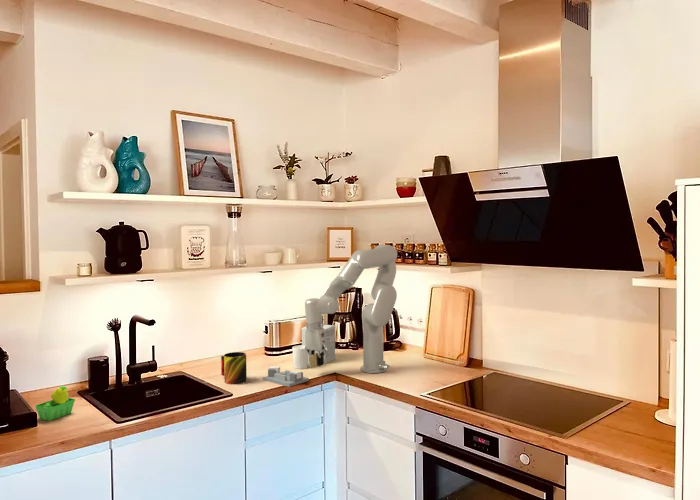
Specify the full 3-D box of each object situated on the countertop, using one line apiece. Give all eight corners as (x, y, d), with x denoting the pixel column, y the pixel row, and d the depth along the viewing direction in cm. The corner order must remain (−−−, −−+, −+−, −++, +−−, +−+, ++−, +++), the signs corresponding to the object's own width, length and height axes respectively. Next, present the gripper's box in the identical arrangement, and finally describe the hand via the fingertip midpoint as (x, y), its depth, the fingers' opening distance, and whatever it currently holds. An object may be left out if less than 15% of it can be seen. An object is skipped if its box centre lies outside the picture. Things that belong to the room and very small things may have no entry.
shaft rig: (308, 380, 236) (308, 369, 236) (289, 386, 227) (288, 375, 227) (281, 373, 248) (281, 363, 248) (261, 379, 239) (261, 368, 239)
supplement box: (335, 358, 277) (335, 325, 277) (325, 364, 265) (324, 329, 265) (313, 356, 282) (312, 323, 282) (301, 362, 270) (301, 327, 270)
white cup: (307, 369, 256) (307, 348, 255) (291, 369, 256) (291, 348, 255) (309, 365, 264) (309, 345, 263) (293, 365, 264) (293, 345, 263)
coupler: (318, 362, 249) (317, 351, 249) (324, 363, 247) (324, 352, 246) (309, 366, 245) (308, 354, 244) (315, 367, 242) (315, 355, 242)
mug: (222, 377, 243) (221, 351, 243) (250, 379, 240) (249, 352, 240) (211, 383, 234) (211, 356, 233) (240, 385, 231) (240, 357, 230)
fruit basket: (61, 409, 200) (60, 380, 200) (79, 412, 197) (78, 382, 197) (33, 420, 190) (33, 388, 189) (51, 423, 187) (51, 391, 186)
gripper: (333, 325, 242) (336, 365, 243) (307, 322, 253) (310, 360, 254) (322, 328, 236) (324, 369, 237) (296, 325, 247) (298, 364, 248)
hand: (317, 364), depth 246 cm, fingers closed on coupler, 4 cm apart
